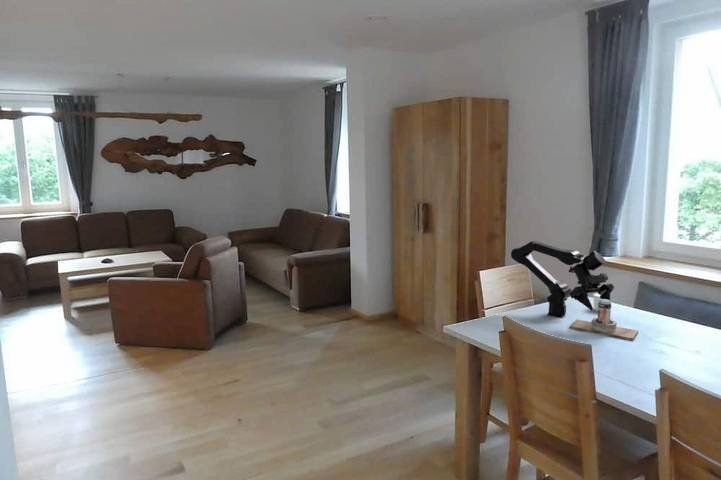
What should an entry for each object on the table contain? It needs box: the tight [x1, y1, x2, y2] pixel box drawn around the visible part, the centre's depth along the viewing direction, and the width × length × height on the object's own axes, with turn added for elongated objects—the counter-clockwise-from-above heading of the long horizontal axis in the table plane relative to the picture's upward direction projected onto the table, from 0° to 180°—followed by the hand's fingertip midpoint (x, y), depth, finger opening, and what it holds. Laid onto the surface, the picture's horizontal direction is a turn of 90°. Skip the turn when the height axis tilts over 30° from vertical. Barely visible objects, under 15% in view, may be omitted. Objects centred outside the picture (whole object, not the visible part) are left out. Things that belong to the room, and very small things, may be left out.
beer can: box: [596, 299, 612, 324], centre depth 211 cm, size 5×5×12 cm
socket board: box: [569, 317, 639, 342], centre depth 211 cm, size 24×11×4 cm, turn 52°
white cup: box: [592, 292, 601, 312], centre depth 239 cm, size 7×7×7 cm
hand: (601, 308), depth 212 cm, fingers open, 9 cm apart
